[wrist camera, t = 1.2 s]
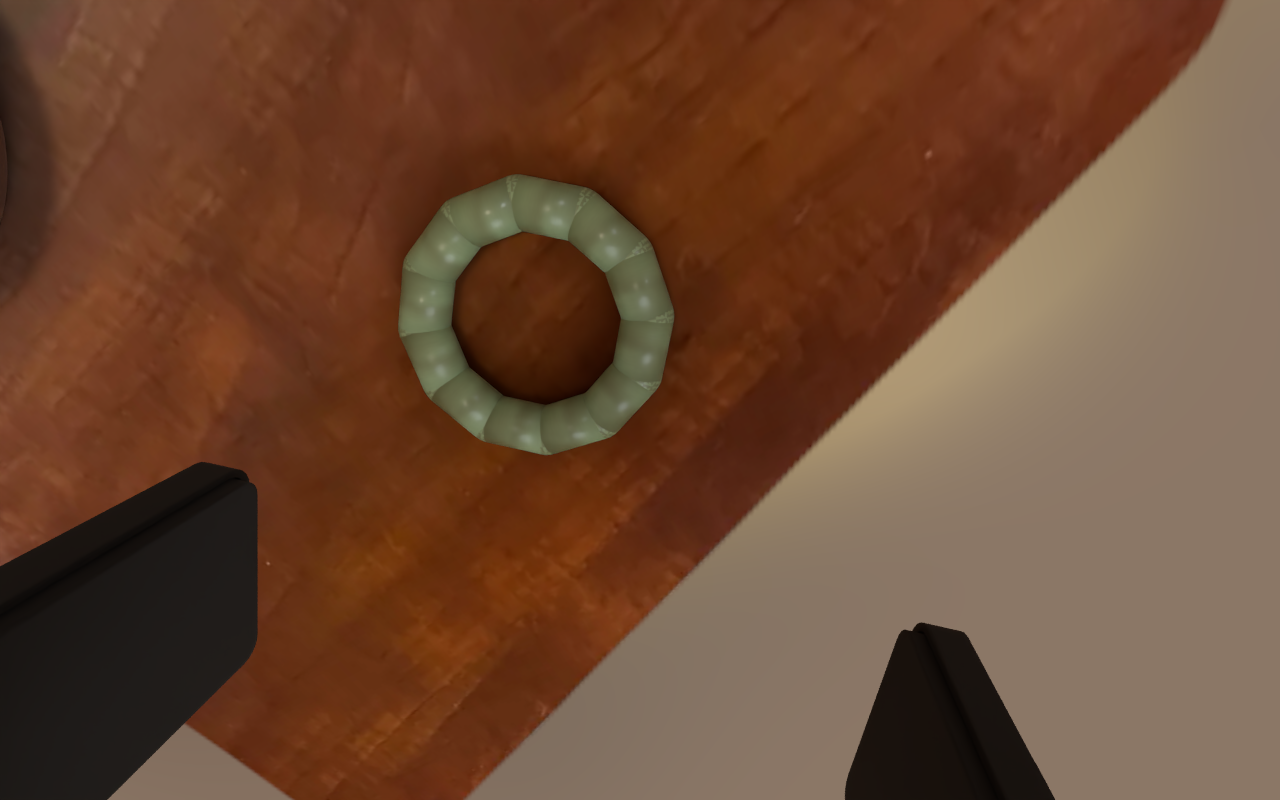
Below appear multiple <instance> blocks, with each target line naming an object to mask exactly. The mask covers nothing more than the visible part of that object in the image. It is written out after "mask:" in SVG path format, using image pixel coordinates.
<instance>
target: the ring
mask: <svg viewBox="0 0 1280 800" xmlns="http://www.w3.org/2000/svg"><path fill="white" fill-rule="evenodd" d="M522 231H523V232H528V233H533V234H538V235H543V236H548V237H553V238H558V239H563V240H567V241H569V242H570V243H572V244H573V245H574V246H575V247H576V248H577V249H578V250H580V251H581V252H582V253H583V254H584V255H585V256H586V257H587V258H589V259H590V260H591V261H592V262H593V263H594V264H595V265H597V266H598V267H599V268H600V269H601V270H602V271H603V272H605V274H606V277H607V280H608V283H609V286H610V288H611V291H612V294H613V297H614V300H615V302H616V305H617V308H618V311H619V314H620V316H621V321H620V327H619V332H618V338H617V343H616V349H615V354H614V360H613V362H612V364H611V365H610V366H609V367H608V368H607V369H606V370H605V372H604V373H603V374H602V375H601V376H600V377H599V378H598V379H597V381H596V382H595V383H594V384H593V385H592V386H591V387H590V388H589V390H588V391H587V392H586V393H584V394H580V395H577V396H574V397H571V398H567V399H564V400H561V401H558V402H555V403H551V404H548V405H543V404H539V403H534V402H529V401H525V400H520V399H516V398H511V397H506V396H503V395H502V394H501V393H500V392H498V391H497V390H496V389H495V388H494V387H492V386H491V385H490V384H489V383H488V382H487V381H485V380H484V379H483V378H482V377H481V376H479V375H478V374H477V373H476V372H475V371H473V370H472V369H471V368H470V367H469V366H468V363H467V361H466V358H465V356H464V354H463V351H462V349H461V347H460V344H459V342H458V340H457V337H456V335H455V332H454V330H453V328H452V325H451V323H452V313H453V303H454V293H455V283H456V280H457V279H458V277H459V276H460V275H461V273H462V272H463V271H464V269H465V268H466V267H467V265H468V264H469V263H470V261H471V260H472V259H473V257H474V256H475V255H476V253H477V252H478V251H479V249H480V248H481V247H482V246H484V245H487V244H490V243H493V242H495V241H498V240H501V239H503V238H506V237H509V236H511V235H514V234H517V233H520V232H522ZM673 323H674V309H673V306H672V303H671V300H670V297H669V294H668V291H667V288H666V285H665V282H664V279H663V276H662V273H661V270H660V267H659V264H658V261H657V258H656V255H655V252H654V249H653V247H652V244H651V243H650V241H649V240H648V238H646V236H645V235H643V234H642V233H641V232H640V231H639V230H638V229H637V228H636V227H635V226H633V225H632V224H631V223H630V222H629V221H628V220H627V219H626V218H624V217H623V216H622V215H621V214H620V213H619V212H618V211H617V210H616V209H614V208H613V207H612V206H611V205H610V204H609V203H608V202H607V201H605V200H604V199H603V198H602V197H601V196H600V195H599V194H598V193H596V192H595V191H593V190H591V189H590V188H586V187H582V186H577V185H572V184H567V183H562V182H557V181H552V180H547V179H542V178H537V177H532V176H527V175H521V174H515V175H510V176H507V177H505V178H502V179H499V180H497V181H494V182H492V183H489V184H487V185H484V186H481V187H479V188H476V189H474V190H471V191H469V192H466V193H464V194H461V195H458V196H456V197H453V198H451V199H449V200H447V201H446V202H445V203H444V204H443V205H442V206H441V207H440V209H439V210H438V212H437V213H436V215H435V216H434V217H433V219H432V220H431V222H430V223H429V224H428V226H427V227H426V229H425V230H424V231H423V233H422V234H421V236H420V237H419V238H418V240H417V241H416V243H415V244H414V245H413V247H412V248H411V250H410V251H409V252H408V254H407V256H406V257H405V259H404V262H403V269H402V282H401V295H400V309H399V322H398V330H399V335H400V338H401V340H402V342H403V344H404V347H405V349H406V351H407V353H408V356H409V358H410V360H411V362H412V365H413V367H414V369H415V371H416V374H417V376H418V378H419V380H420V383H421V385H422V387H423V389H424V391H425V393H426V395H427V396H428V397H429V398H430V400H432V401H433V402H434V403H435V404H436V405H438V406H439V407H440V408H441V409H443V410H444V411H445V412H446V413H447V414H449V415H450V416H451V417H452V418H453V419H455V420H456V421H457V422H458V423H460V424H461V425H462V426H463V427H464V428H466V429H467V430H468V431H469V432H471V433H472V434H473V435H474V436H475V437H477V438H478V439H480V440H482V441H484V442H488V443H493V444H497V445H502V446H506V447H511V448H515V449H520V450H524V451H529V452H533V453H538V454H543V455H551V454H555V453H559V452H562V451H566V450H569V449H572V448H576V447H579V446H583V445H586V444H589V443H593V442H596V441H600V440H603V439H606V438H609V437H611V436H613V435H615V434H616V433H617V432H618V431H619V430H620V429H621V428H622V427H623V425H624V424H625V423H626V422H627V421H628V420H629V419H630V418H631V417H632V416H633V415H634V414H635V413H636V411H637V410H638V409H639V408H640V407H641V406H642V405H643V404H644V403H645V402H646V401H647V400H648V399H649V397H650V396H651V395H652V394H653V393H654V392H655V391H656V390H657V388H658V387H659V385H660V383H661V380H662V376H663V371H664V367H665V362H666V357H667V352H668V347H669V342H670V337H671V332H672V328H673Z"/></svg>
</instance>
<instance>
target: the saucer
mask: <svg viewBox="0 0 1280 800" xmlns="http://www.w3.org/2000/svg"><path fill="white" fill-rule="evenodd" d="M7 176H8V175H7V154H6V144H5V137H4V132H3V128H2V124H1V120H0V223H1V219H2V216H3V212H4V207H5V201H6V194H7Z"/></svg>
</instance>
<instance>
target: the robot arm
mask: <svg viewBox="0 0 1280 800" xmlns="http://www.w3.org/2000/svg"><path fill="white" fill-rule="evenodd" d="M256 641H257V489H256V487H255V485H254V484H252V483H250V482H249V478H248V476H247V474H246V473H245V472H243V471H242V470H238V469H234V468H229V467H225V466H220V465H216V464H211V463H206V462H200V463H197V464H194V465H192V466H190V467H189V468H187V469H185V470H183V471H181V472H179V473H177V474H175V475H173V476H171V477H169V478H168V479H166V480H164V481H162V482H160V483H158V484H156V485H154V486H152V487H150V488H149V489H147V490H145V491H143V492H141V493H139V494H137V495H135V496H133V497H131V498H130V499H128V500H126V501H124V502H122V503H120V504H118V505H116V506H114V507H112V508H110V509H109V510H107V511H105V512H103V513H101V514H99V515H97V516H95V517H93V518H91V519H90V520H88V521H86V522H84V523H82V524H80V525H78V526H76V527H74V528H72V529H70V530H69V531H67V532H65V533H63V534H61V535H59V536H57V537H55V538H53V539H51V540H50V541H48V542H46V543H44V544H42V545H40V546H38V547H36V548H34V549H32V550H31V551H29V552H27V553H25V554H23V555H21V556H19V557H17V558H15V559H13V560H11V561H10V562H8V563H6V564H4V565H2V566H0V800H107V799H108V798H109V797H111V795H112V794H114V793H115V792H116V791H117V790H118V788H120V787H121V786H122V785H123V784H124V783H125V782H126V781H127V780H128V779H129V778H130V777H131V776H132V775H133V773H135V772H136V771H137V770H138V768H140V767H141V766H142V765H143V764H144V763H145V762H146V761H147V759H149V758H150V757H151V756H152V755H153V754H154V753H155V752H156V751H157V750H158V749H159V748H160V747H161V746H162V745H163V744H164V743H165V742H166V741H167V740H168V739H169V738H170V737H171V736H172V735H173V734H174V733H175V732H176V731H177V730H178V729H179V728H180V727H181V726H182V725H183V724H184V723H185V722H186V721H187V720H188V719H189V718H190V717H191V716H192V715H193V714H194V713H195V712H196V711H197V710H198V709H199V708H200V707H201V706H202V705H203V704H204V703H205V702H206V701H207V700H208V699H209V698H210V697H211V696H212V695H213V694H214V693H215V692H216V691H217V690H218V689H219V688H220V687H221V686H222V685H223V684H224V683H225V682H226V681H227V680H228V679H229V678H230V677H231V676H232V675H233V674H234V673H235V672H236V671H237V670H238V669H239V668H240V667H241V666H242V665H243V664H244V663H245V662H246V661H247V660H248V659H249V657H250V655H251V654H252V652H253V650H254V647H255V645H256ZM845 800H1055V798H1054V797H1053V795H1052V793H1051V791H1050V789H1049V787H1048V785H1047V783H1046V781H1045V780H1044V778H1043V776H1042V774H1041V772H1040V770H1039V768H1038V766H1037V765H1036V763H1035V762H1034V760H1033V758H1032V756H1031V754H1030V753H1029V751H1028V749H1027V747H1026V745H1025V743H1024V741H1023V739H1022V738H1021V736H1020V734H1019V732H1018V730H1017V728H1016V726H1015V724H1014V723H1013V721H1012V719H1011V717H1010V715H1009V713H1008V711H1007V709H1006V708H1005V706H1004V704H1003V702H1002V700H1001V698H1000V696H999V695H998V693H997V691H996V689H995V687H994V685H993V683H992V681H991V679H990V678H989V676H988V674H987V672H986V670H985V668H984V666H983V664H982V663H981V661H980V659H979V657H978V655H977V653H976V651H975V649H974V648H973V646H972V644H971V642H970V640H969V638H968V637H967V635H966V634H965V633H964V632H961V631H957V630H953V629H948V628H944V627H940V626H935V625H931V624H926V623H918V624H917V625H916V626H915V627H914V629H913V631H908V630H903V631H901V633H900V634H899V636H898V638H897V641H896V643H895V646H894V649H893V652H892V654H891V657H890V660H889V663H888V666H887V668H886V671H885V674H884V677H883V680H882V683H881V685H880V688H879V691H878V693H877V696H876V699H875V702H874V705H873V707H872V710H871V713H870V716H869V719H868V722H867V724H866V727H865V730H864V733H863V736H862V738H861V741H860V744H859V746H858V749H857V752H856V755H855V758H854V761H853V763H852V766H851V769H850V772H849V774H848V778H847V782H846V788H845Z"/></svg>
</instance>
